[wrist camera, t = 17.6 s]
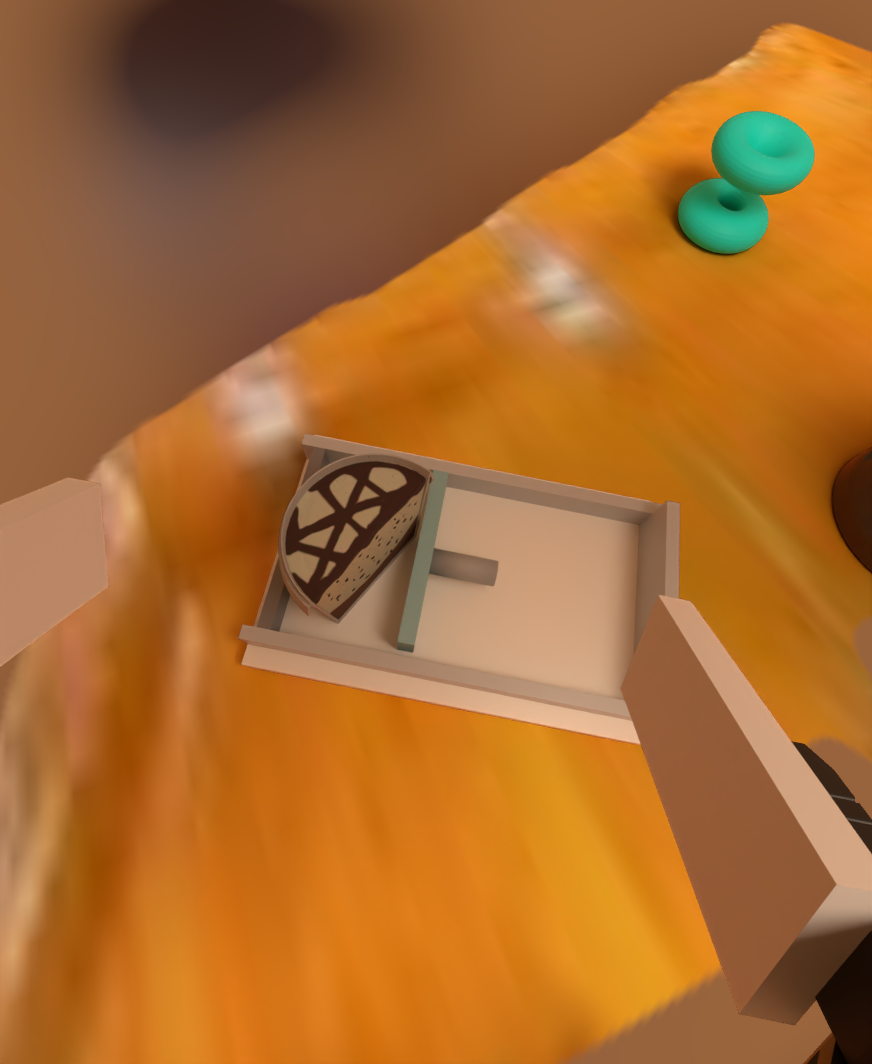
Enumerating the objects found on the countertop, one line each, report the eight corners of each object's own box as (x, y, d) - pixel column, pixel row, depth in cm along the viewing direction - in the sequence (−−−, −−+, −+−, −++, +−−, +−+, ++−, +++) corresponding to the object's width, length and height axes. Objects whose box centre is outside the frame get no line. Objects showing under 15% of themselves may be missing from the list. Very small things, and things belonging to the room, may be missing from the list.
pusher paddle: (503, 503, 44) (511, 484, 41) (478, 665, 39) (486, 659, 36) (431, 489, 44) (433, 469, 41) (397, 649, 39) (397, 641, 36)
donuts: (712, 149, 51) (733, 92, 54) (663, 240, 60) (684, 187, 63) (813, 184, 50) (828, 125, 53) (748, 271, 59) (764, 216, 63)
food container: (371, 480, 45) (364, 412, 35) (427, 523, 44) (436, 465, 34) (266, 588, 41) (227, 544, 31) (325, 638, 40) (302, 609, 30)
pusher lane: (644, 508, 47) (680, 474, 41) (634, 744, 40) (676, 745, 34) (316, 443, 47) (304, 400, 41) (246, 666, 40) (219, 654, 34)
